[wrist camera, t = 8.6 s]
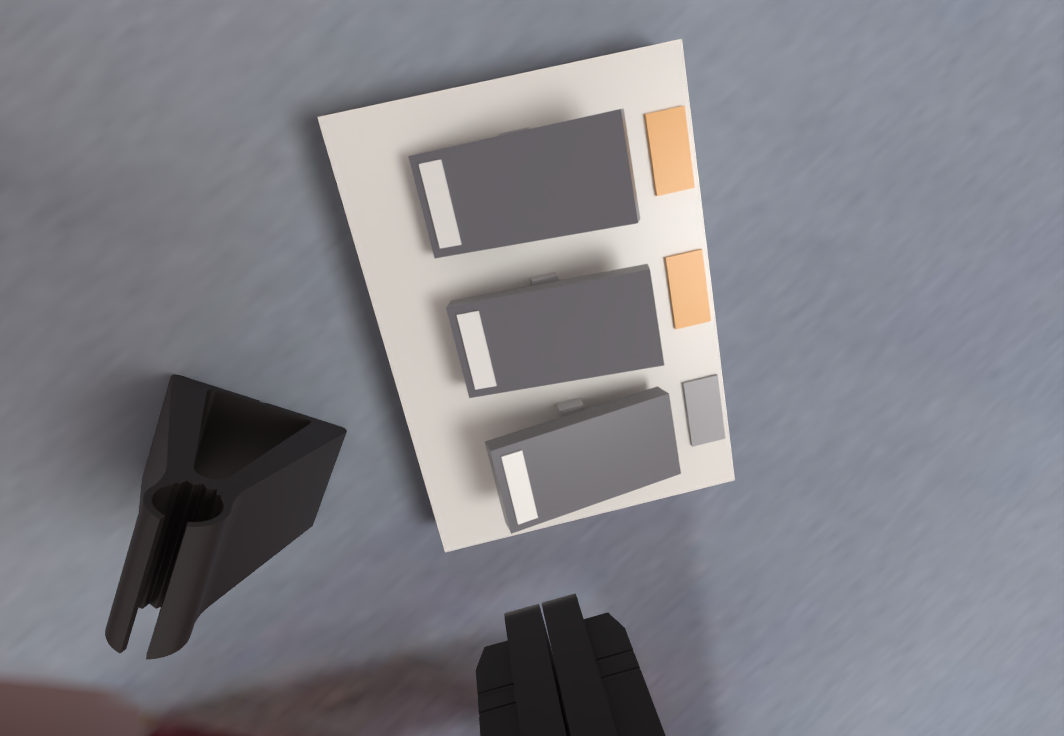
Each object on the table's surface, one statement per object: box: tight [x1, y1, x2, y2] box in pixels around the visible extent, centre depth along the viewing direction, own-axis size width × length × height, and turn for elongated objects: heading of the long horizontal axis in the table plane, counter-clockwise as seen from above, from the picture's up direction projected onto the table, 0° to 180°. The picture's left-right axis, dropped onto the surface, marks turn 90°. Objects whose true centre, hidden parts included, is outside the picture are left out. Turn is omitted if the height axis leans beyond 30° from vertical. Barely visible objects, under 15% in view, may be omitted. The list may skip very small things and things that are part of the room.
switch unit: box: [317, 39, 735, 552], centre depth 33 cm, size 22×16×4 cm
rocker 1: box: [408, 109, 640, 258], centre depth 28 cm, size 4×9×1 cm, turn 102°
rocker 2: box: [446, 264, 664, 398], centre depth 30 cm, size 4×9×1 cm, turn 102°
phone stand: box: [105, 375, 347, 659], centre depth 30 cm, size 9×6×12 cm, turn 67°
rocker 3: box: [485, 386, 681, 534], centre depth 32 cm, size 4×9×1 cm, turn 102°
